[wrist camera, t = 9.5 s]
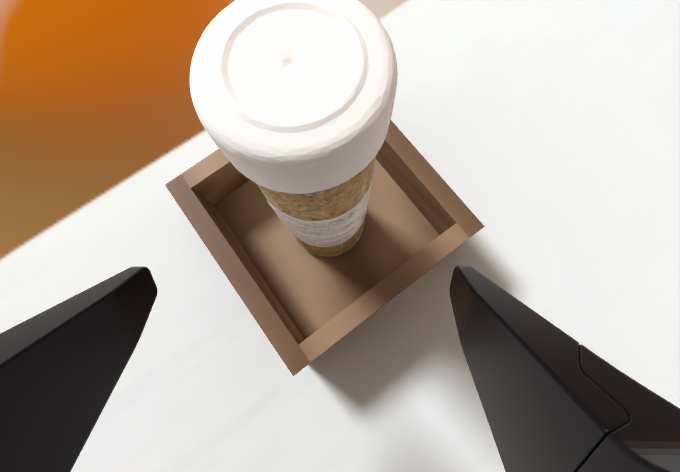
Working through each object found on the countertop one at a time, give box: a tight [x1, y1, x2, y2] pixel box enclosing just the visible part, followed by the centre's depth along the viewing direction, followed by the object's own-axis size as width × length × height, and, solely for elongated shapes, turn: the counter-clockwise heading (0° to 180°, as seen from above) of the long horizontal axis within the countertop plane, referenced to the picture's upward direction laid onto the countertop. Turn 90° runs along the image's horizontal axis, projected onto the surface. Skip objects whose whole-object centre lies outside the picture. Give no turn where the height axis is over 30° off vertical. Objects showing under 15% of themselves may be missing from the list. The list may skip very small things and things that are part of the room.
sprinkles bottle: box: [190, 0, 397, 257], centre depth 13 cm, size 5×5×14 cm
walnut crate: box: [166, 120, 484, 376], centre depth 19 cm, size 12×12×4 cm
